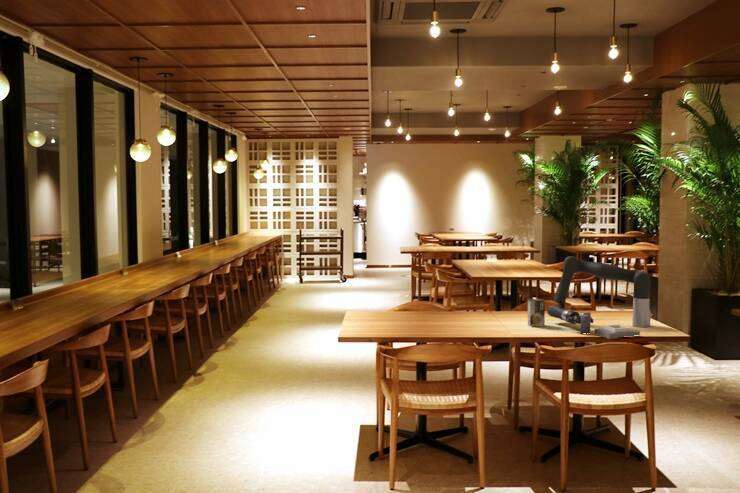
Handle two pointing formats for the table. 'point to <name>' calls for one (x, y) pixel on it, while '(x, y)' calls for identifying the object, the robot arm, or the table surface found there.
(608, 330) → the grey flat block
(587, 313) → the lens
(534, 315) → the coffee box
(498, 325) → the table surface
